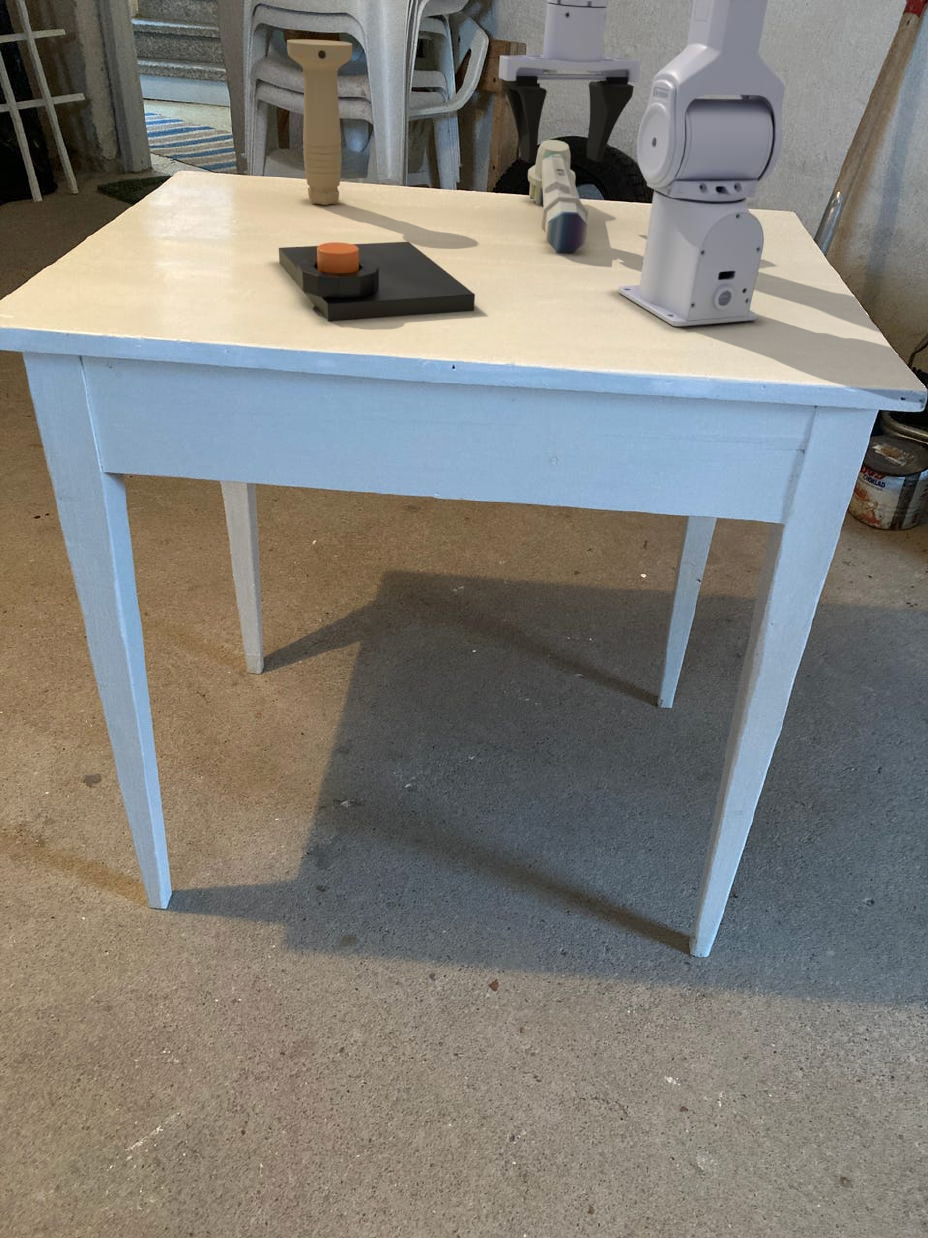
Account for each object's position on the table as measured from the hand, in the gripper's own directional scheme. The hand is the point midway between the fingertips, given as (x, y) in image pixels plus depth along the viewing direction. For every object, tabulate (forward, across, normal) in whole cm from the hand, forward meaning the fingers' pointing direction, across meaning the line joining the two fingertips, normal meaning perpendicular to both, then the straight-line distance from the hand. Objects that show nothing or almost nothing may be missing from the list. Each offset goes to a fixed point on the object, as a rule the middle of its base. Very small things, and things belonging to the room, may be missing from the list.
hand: (561, 160), depth 101 cm
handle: (+6, +22, -12) cm, 26 cm away
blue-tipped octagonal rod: (+6, 0, 0) cm, 6 cm away
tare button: (+3, +30, +22) cm, 37 cm away
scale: (+6, +26, +18) cm, 32 cm away
